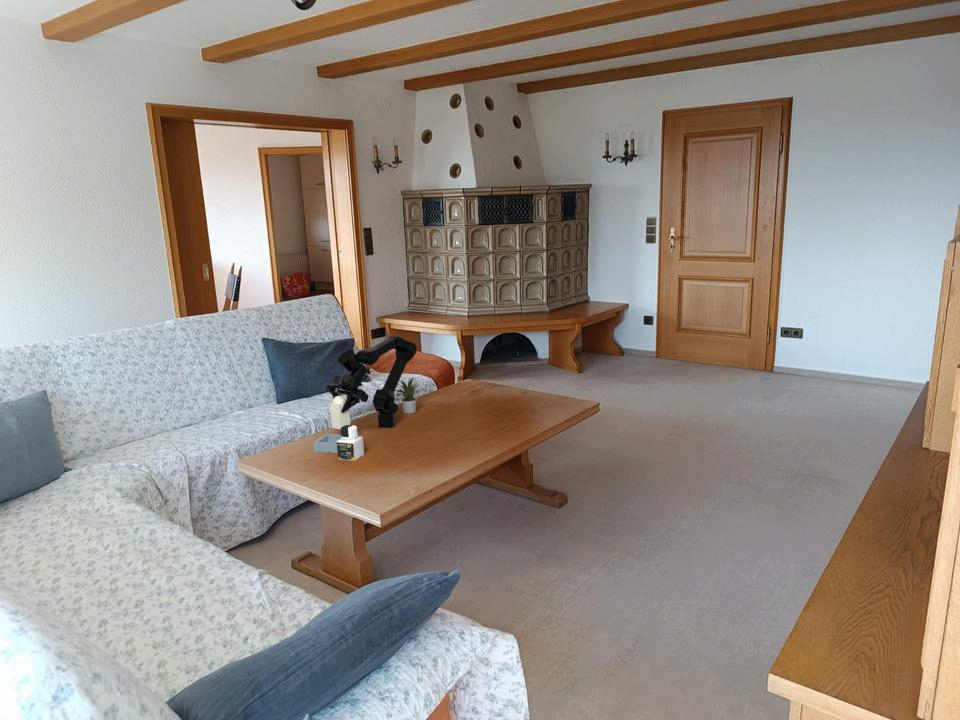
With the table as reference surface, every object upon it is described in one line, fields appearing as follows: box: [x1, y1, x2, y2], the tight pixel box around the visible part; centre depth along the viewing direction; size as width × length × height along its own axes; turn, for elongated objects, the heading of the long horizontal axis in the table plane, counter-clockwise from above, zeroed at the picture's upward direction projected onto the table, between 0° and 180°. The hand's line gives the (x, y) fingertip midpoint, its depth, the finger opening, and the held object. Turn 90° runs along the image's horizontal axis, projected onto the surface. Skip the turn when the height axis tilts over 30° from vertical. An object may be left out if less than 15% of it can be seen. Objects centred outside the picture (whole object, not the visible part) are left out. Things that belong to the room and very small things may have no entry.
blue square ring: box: [312, 433, 341, 454], centre depth 255 cm, size 11×11×4 cm
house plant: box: [394, 376, 423, 414], centre depth 297 cm, size 14×14×16 cm
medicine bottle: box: [336, 424, 365, 462], centre depth 243 cm, size 7×7×12 cm
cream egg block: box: [329, 395, 351, 430], centre depth 257 cm, size 5×5×12 cm
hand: (337, 411), depth 255 cm, fingers closed on cream egg block, 5 cm apart
